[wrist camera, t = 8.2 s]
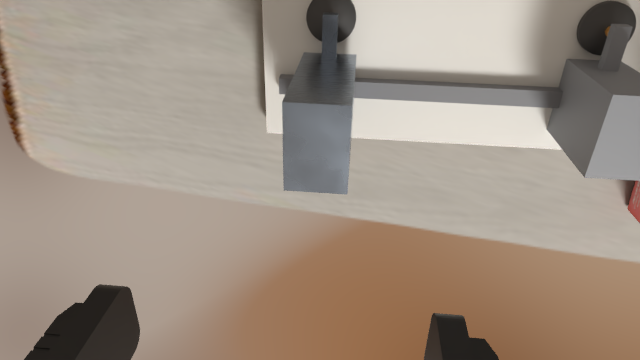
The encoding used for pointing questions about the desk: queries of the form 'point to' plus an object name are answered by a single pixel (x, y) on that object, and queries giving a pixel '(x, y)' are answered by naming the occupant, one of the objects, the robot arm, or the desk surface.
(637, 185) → the ink cartridge box
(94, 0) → the desk surface
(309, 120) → the sliding leg
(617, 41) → the sliding block fixture
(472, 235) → the desk surface
